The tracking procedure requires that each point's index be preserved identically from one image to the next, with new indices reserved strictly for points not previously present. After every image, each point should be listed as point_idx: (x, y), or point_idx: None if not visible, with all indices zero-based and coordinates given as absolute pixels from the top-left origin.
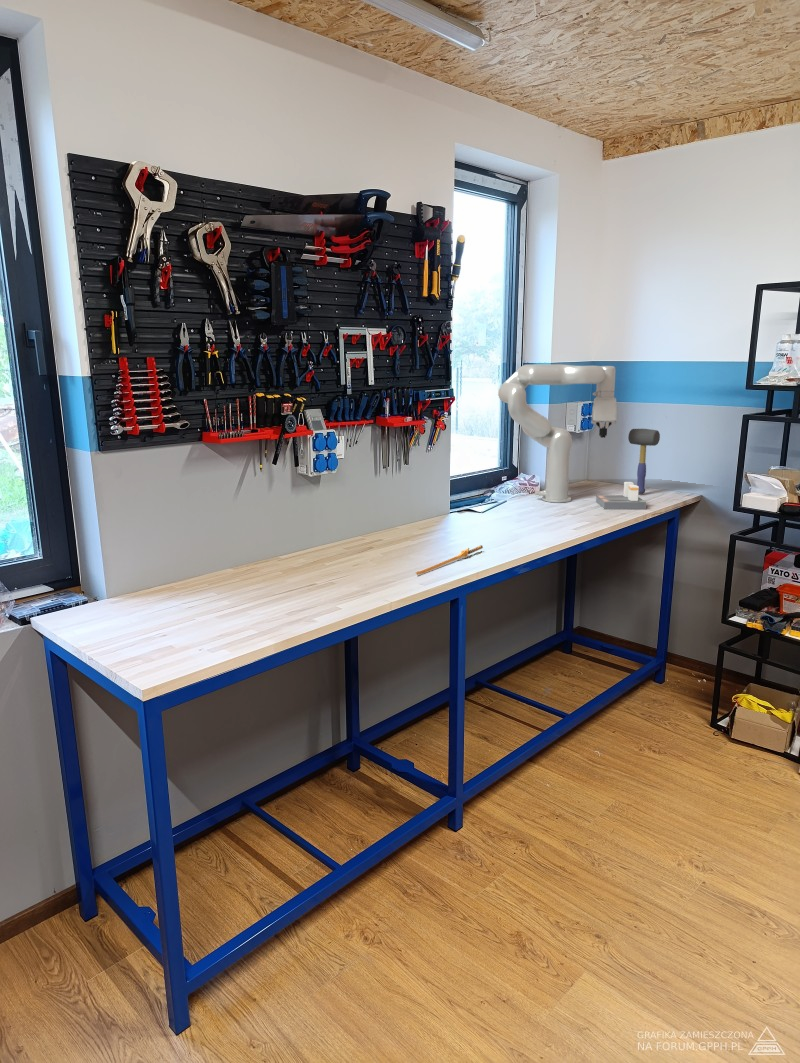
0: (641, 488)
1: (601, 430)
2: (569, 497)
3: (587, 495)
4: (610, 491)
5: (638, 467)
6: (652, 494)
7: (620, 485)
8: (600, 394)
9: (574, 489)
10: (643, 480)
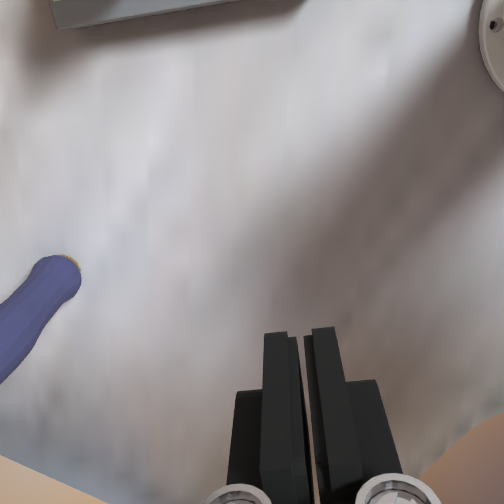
0: (43, 268)
1: (362, 453)
2: (492, 32)
3: (346, 209)
4: (213, 335)
5: (7, 350)
6: (4, 280)
7: (163, 474)
8: None
9: (393, 367)
10: (12, 295)
